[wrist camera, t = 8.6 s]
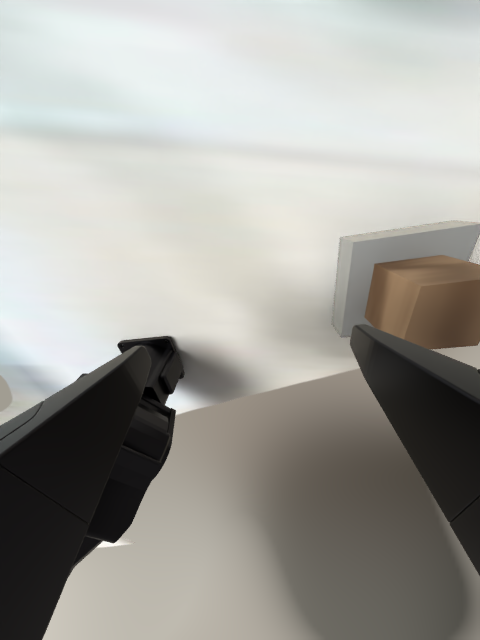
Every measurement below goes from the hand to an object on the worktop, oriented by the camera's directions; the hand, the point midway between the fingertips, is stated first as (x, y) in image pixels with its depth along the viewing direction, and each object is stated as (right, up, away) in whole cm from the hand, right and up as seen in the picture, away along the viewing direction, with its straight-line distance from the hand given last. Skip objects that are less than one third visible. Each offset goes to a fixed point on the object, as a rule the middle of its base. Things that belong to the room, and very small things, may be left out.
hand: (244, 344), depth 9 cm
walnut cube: (+13, +4, +8) cm, 16 cm away
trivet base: (+14, +5, +11) cm, 18 cm away
